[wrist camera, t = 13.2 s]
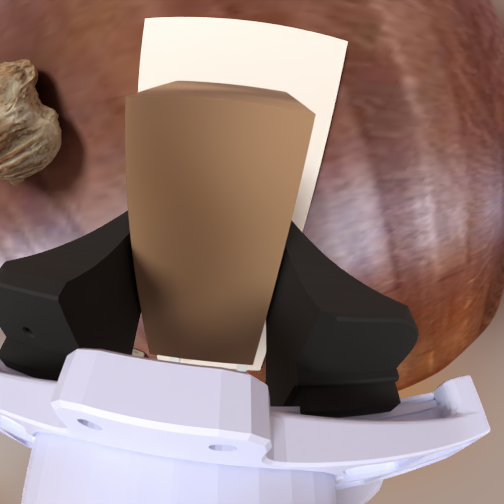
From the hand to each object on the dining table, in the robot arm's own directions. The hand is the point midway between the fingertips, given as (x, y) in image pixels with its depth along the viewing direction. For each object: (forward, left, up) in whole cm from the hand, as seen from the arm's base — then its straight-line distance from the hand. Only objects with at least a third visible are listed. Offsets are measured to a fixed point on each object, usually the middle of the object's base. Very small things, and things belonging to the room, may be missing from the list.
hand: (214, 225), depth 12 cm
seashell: (+16, -3, -9) cm, 19 cm away
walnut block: (0, -1, -1) cm, 1 cm away
